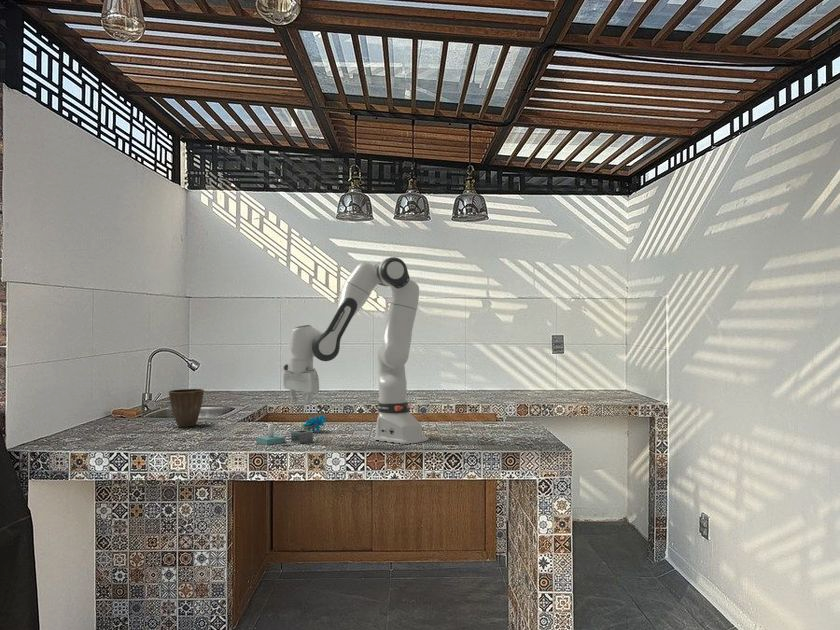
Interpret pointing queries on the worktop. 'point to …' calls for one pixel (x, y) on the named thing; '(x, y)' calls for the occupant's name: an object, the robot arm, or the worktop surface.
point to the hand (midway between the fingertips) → (300, 402)
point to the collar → (301, 436)
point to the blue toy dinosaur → (314, 423)
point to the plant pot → (186, 405)
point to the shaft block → (270, 437)
